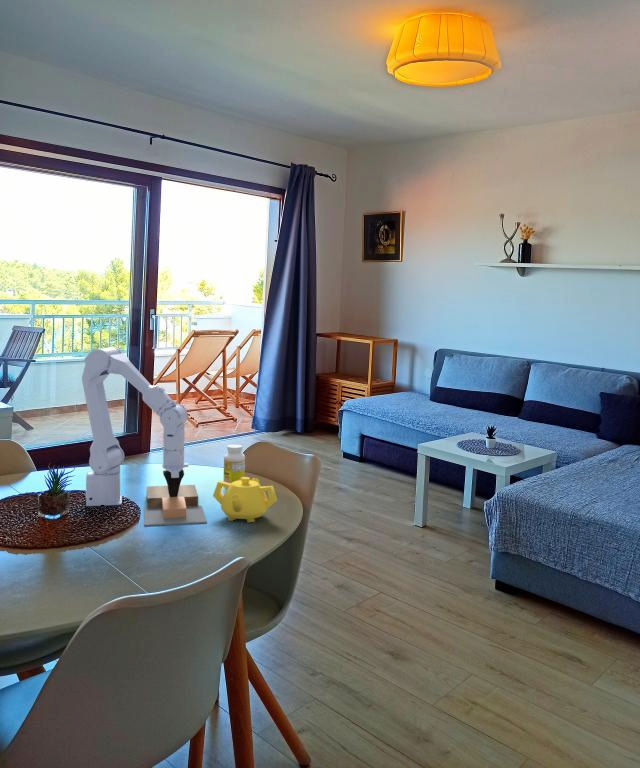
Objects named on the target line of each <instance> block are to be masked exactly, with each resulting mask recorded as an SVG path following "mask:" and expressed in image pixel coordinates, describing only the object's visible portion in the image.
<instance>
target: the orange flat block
mask: <svg viewBox="0 0 640 768" xmlns="http://www.w3.org/2000/svg"><path fill="white" fill-rule="evenodd" d="M162 510H163V518H183V517H186V504H185V499H184V497H162Z"/></svg>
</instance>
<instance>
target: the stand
mask: <svg viewBox="0 0 640 768" xmlns="http://www.w3.org/2000/svg"><path fill="white" fill-rule="evenodd" d="M162 497H170V496H169V492H168V485H150V486H149V485H148V486H146V508H158V507H162ZM177 497H184V499H185V504H186V506H199V494H198V491H197V488H196V485H195V484H180V486H179V492H178V496H177Z"/></svg>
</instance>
